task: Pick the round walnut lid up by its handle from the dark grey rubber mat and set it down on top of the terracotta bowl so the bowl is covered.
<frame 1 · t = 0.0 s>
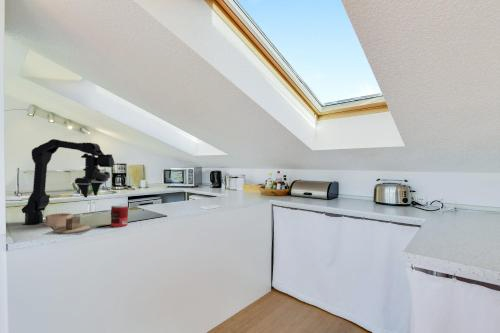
hand: (90, 196, 136), 15 cm above the worktop, tool pointing down, fingers open, 9 cm apart
canned food: (119, 226, 133), on the worktop
lid: (73, 223, 122), on the mat
mat: (72, 230, 122), on the worktop
bowl: (59, 224, 133), on the worktop
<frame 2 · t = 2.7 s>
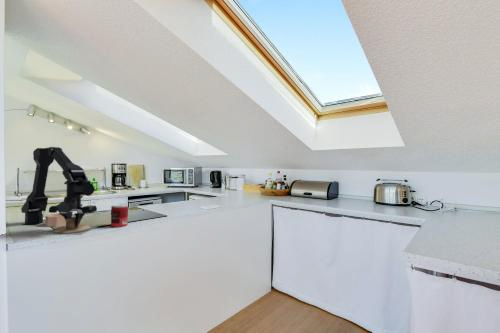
hand: (72, 227, 122), 2 cm above the worktop, tool pointing down, fingers closed on lid, 3 cm apart
lid: (73, 223, 122), on the mat, touching gripper
everything else where it was.
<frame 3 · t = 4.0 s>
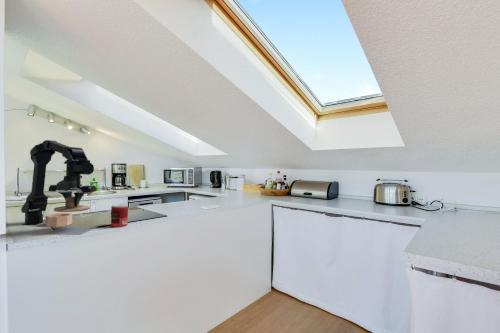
hand: (72, 206, 122), 11 cm above the worktop, tool pointing down, fingers closed on lid, 3 cm apart
lid: (72, 203, 122), point 13 cm above the worktop, touching gripper
everything else where it was.
when the fingers open (8 cm above the worktop, at t = 5.7 s): lid drops 2 cm, resting on bowl.
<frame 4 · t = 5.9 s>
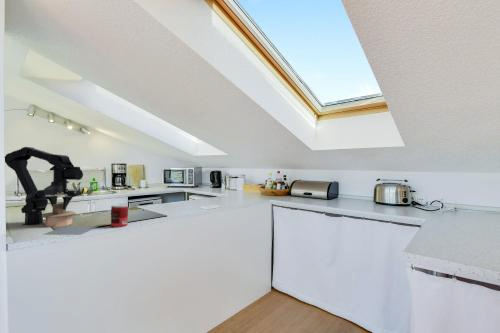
hand: (59, 209, 133), 8 cm above the worktop, tool pointing down, fingers open, 5 cm apart
lid: (59, 209, 133), on the bowl, point 8 cm above the worktop
everything else where it was.
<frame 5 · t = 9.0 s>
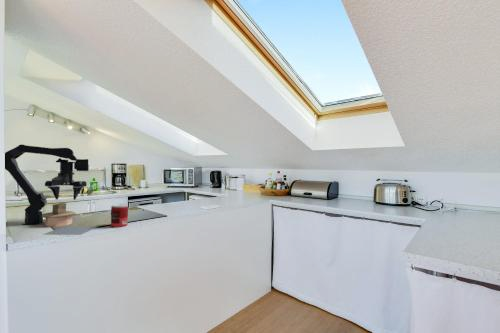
hand: (65, 199, 140), 12 cm above the worktop, tool pointing down, fingers open, 9 cm apart
nothing on the worktop moved.
at the end: lid 0.1 cm off-centre on the bowl, point 7.9 cm above the bowl's base; lid tilted 0°; the gripper is holding nothing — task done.
